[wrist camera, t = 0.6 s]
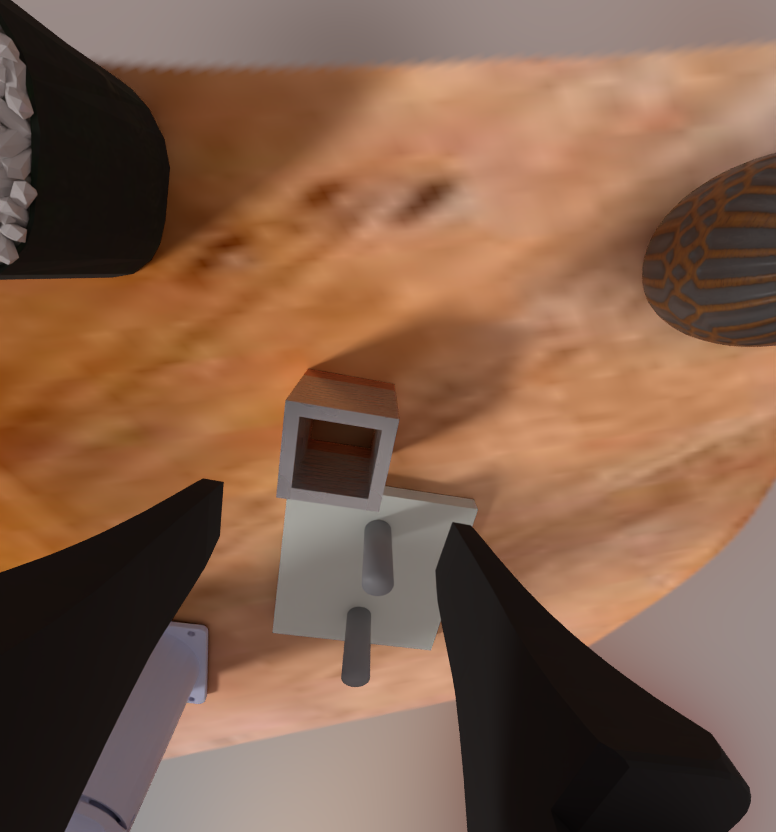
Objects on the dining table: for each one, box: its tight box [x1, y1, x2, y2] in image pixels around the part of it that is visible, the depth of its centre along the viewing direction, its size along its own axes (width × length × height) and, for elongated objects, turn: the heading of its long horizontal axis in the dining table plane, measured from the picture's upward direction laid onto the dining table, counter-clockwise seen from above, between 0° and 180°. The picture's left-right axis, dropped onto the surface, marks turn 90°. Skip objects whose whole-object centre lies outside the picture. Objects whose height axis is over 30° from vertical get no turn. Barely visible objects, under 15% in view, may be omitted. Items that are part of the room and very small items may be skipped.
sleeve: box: [276, 369, 399, 512], centre depth 18 cm, size 5×5×5 cm
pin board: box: [272, 486, 478, 687], centre depth 22 cm, size 11×12×5 cm
